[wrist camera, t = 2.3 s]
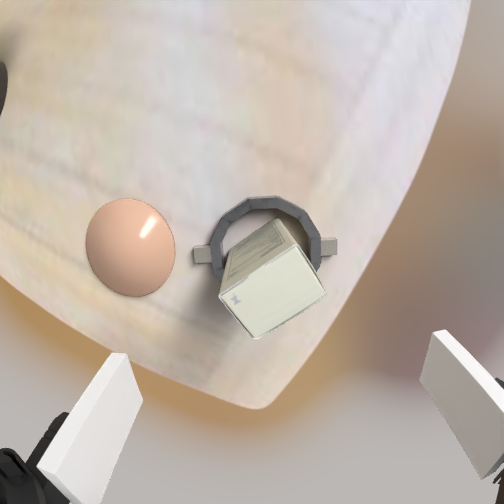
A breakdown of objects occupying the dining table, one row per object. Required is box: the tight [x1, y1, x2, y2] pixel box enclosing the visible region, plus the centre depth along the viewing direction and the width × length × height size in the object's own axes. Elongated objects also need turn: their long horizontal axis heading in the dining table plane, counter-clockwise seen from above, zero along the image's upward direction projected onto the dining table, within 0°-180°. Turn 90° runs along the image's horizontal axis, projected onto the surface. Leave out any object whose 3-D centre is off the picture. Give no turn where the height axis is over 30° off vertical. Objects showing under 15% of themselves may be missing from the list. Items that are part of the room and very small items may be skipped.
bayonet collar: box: [193, 196, 337, 283], centre depth 29 cm, size 15×11×2 cm
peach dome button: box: [86, 199, 175, 296], centre depth 30 cm, size 11×11×1 cm
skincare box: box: [218, 218, 328, 340], centre depth 24 cm, size 6×4×12 cm
